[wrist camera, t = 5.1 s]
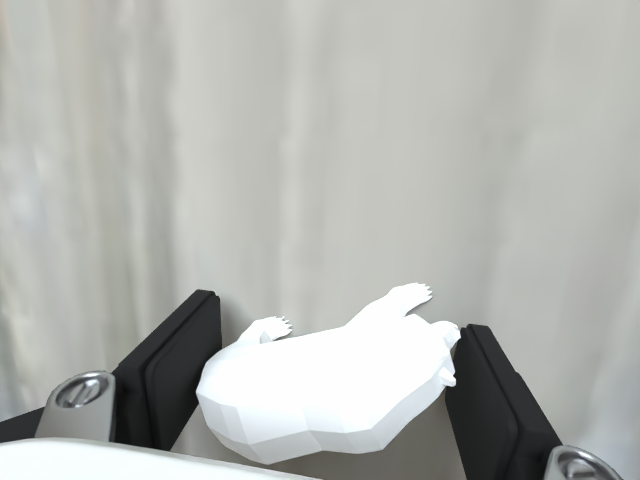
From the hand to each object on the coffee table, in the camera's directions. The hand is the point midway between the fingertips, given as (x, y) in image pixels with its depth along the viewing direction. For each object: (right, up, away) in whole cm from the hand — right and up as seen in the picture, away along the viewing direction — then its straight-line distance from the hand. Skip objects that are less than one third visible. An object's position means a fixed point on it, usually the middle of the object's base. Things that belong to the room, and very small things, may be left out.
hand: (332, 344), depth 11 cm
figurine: (0, 0, +1) cm, 1 cm away
